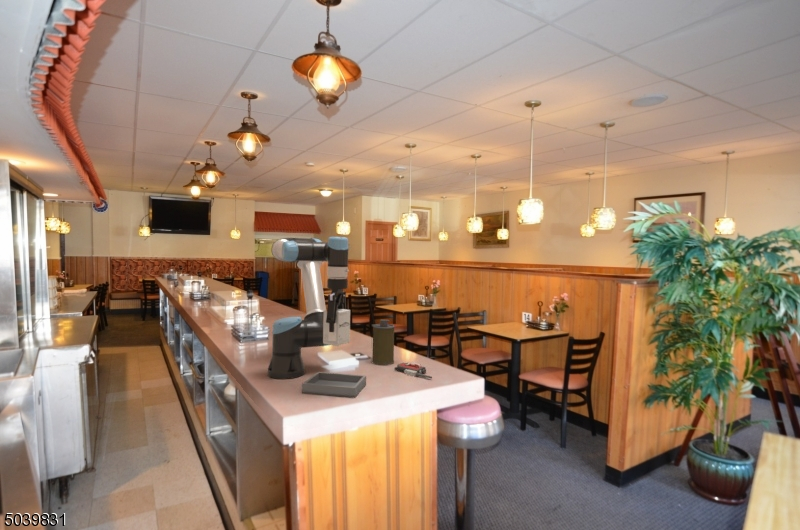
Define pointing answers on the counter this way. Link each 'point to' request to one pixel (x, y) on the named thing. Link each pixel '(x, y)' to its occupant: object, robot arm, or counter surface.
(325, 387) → the grey tray
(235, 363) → the counter surface
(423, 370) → the red grey elongated piece
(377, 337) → the canister
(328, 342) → the supplement box
